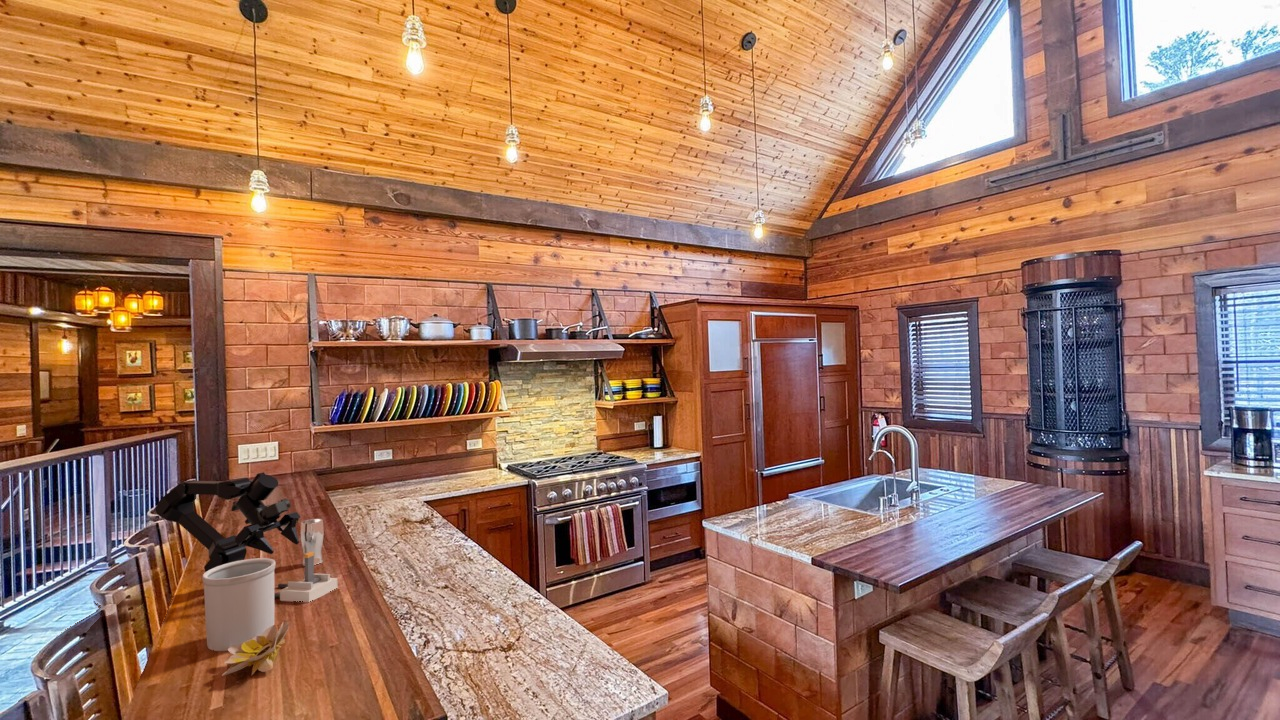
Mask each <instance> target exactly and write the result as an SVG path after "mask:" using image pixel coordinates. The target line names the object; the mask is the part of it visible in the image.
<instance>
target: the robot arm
mask: <svg viewBox="0 0 1280 720" xmlns="http://www.w3.org/2000/svg"><path fill="white" fill-rule="evenodd" d="M278 485H279V481H278V479H277V478H276V477H274V476H272V475H269V474H266V473H265V472H260V473H257V474H256V475H255V477H254V479H253V480H250V479H249V477H241V478H235V479H231V480H225V481H224V480H222V481H220V480H219V481H218V480H197V479H193V480H187V481H183V482H182V481H181V482H179V483H177V485H176V486H175V488H174V489H172V490H171V491H169V492H168V493H166V494H165V495H163V496H162V498H161V499H159V501H158V502H157V504H156V505H155V509H154V510H155V512H156V514H157V516H159V517H161V518H162V519H164V520H165V521H169V522H172V523H178V524H179V525H180V526H181V527H182V528H183V529H184V530H186V531H187V532H188V534H190V535H191V536H192V537H194V539H196V540H197V541H198V542H199V543H200V544H202V545H203V546H204V547H205V548H206V549H207V550H208V559H209V560H208V561H207V563H205V565H204V567H203V569H204V571H205V572H207V571H208V570H210V569H212V568H215V567H217V566H220V565H223V564H227V563H231V562H235V561H240V560H246V559H245V558H246V554H247V552H248V551H247V547H249V548H252V549H255V550H259V551H261V552H264V553H267V554H269V555H273V554H274V552H275V551H274V549H273V547H272V546H271V544H270V543H269V541H268V540H267V539H266V538H265V532H269V531H272V530H276V529H277V530H278V531H279V532H280V534H281V535H282V536H283V537H284V538H286V539H288V540H289V541H290V542H291V543H292V544H294V545H295V546H296V545H298V544H300V540H299V536H298V532H297V528H296V527H297V523H298V522H299V520H300V518H301V515H300V514H299V513H298V511H293V512H289V513H286V514H283V513H285V512H288V511H289V509H290V508H291V506H292V504H291V502H290V501H289V500H288V499H287V498H283V499H281V500H278V501H277V502H275V503H273V504H268V505H266V504H264V502H263V501H266V500H267V499H268V498H269V496H270V495H272V493H273V492H274V491H275V490H276V489H277V488H278ZM197 495H203V496H204V495H207V496H209V495H210V496H217V497H218V498H219V499H224V500H228V501H229V500H233V499H236V498H238V500H237V501H234V502H232V507H231V511H232V512H235V511H240V512H241V514H242V515H243V516H244V517H245V518H246V519H245V520H244V523H245V524H246V526H243V527H242V528H241V529H240V530H239V532H238V534H236V535H230V536H228V537H225V536H224V535H222V534H221V533H220V532H219V531H218V530H216V529H215V528H214V527H213V526H212V525H211V524H209V522H208V521H206V520H205V519H204V518H203V517H201V516H200V515H199V514H198V513H197V512H196V511H195V503H194V502H196V499H197ZM281 514H283V516H282V517H281ZM279 518H280V520H279ZM248 524H249V525H248ZM205 572H204V573H205Z"/></svg>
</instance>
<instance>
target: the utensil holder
mask: <svg viewBox="0 0 1280 720" xmlns="http://www.w3.org/2000/svg"><path fill="white" fill-rule="evenodd" d="M276 563H277V562H276V560H275V559H274V558H273V559H272V558H268V557H265V558H264V557H259V558H258V557H257V558H248V559H247V558H246V559H244V560H240V561H235V562H231V563H227V564H223V565H220V566H217V567H215V568H212V569H210V570H208V571H207V572H204V573H203V574H202V576H201V578H202V582H203V591H204V592H203V594H204V612H205V613H204V614H205V616H204V617H205V618H204V620H205V621H204V622H205V631H206V632H205V633H206V634H205V636H206V645H207V649H209V650H211V651H213V650H214V651H215V652H226V651H228V649H229V648H230V647H233V646H236V645H241V644H243V643H244V642H245V641H247V640H252V638H254V637H256V636H262V635H263V633H264V632H265V630H266V629H268V628H269V627H271V626H273V625H275V613H276V612H275V610H276V609H275V597H274V593H275V569H276V566H277V564H276ZM214 651H213V652H214ZM228 652H229V651H228Z"/></svg>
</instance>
